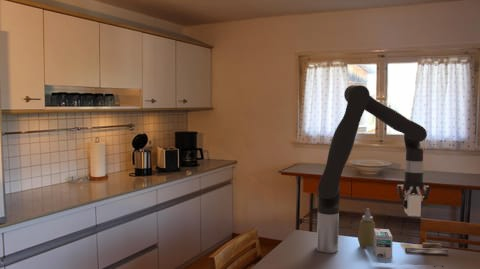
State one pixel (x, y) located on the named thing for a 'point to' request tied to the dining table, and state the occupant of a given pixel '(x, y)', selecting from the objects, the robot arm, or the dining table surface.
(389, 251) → the light bulb box
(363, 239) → the squeeze bottle
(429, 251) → the brown panel with ledge
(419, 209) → the carton
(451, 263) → the dining table surface
